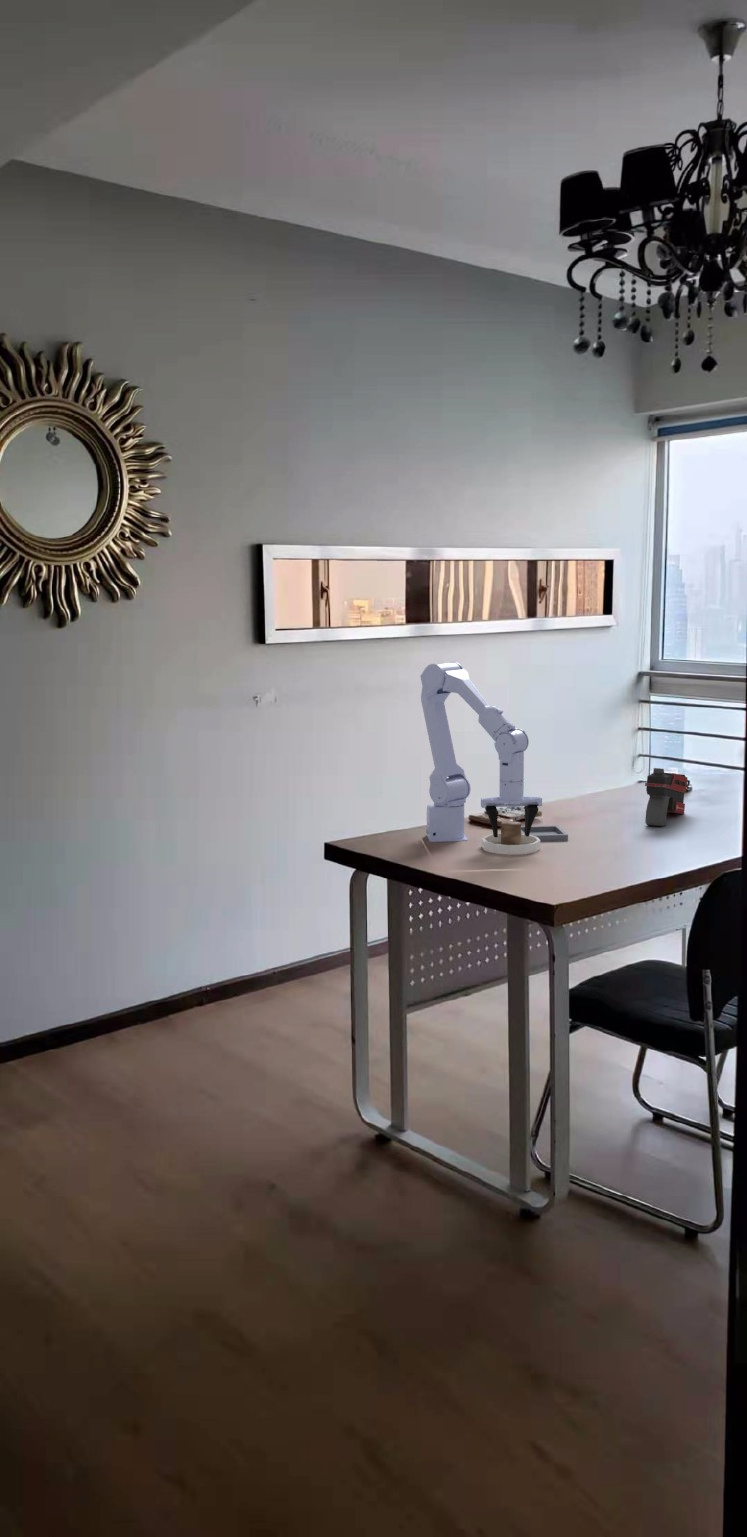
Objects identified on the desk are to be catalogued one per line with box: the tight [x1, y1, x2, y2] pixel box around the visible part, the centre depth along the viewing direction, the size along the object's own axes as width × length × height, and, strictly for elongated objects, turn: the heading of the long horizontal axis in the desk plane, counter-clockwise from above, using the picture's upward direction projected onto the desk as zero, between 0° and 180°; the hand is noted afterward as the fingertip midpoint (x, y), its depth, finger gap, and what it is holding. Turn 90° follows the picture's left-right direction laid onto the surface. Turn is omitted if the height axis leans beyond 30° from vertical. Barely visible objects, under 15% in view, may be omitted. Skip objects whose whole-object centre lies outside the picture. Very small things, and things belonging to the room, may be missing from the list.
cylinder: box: [500, 820, 522, 845], centre depth 287 cm, size 5×5×6 cm
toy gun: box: [644, 767, 688, 827], centre depth 320 cm, size 5×24×15 cm, turn 152°
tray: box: [521, 825, 569, 842], centre depth 300 cm, size 11×11×2 cm
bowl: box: [481, 832, 541, 856], centre depth 287 cm, size 14×14×2 cm
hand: (511, 836), depth 287 cm, fingers open, 7 cm apart
